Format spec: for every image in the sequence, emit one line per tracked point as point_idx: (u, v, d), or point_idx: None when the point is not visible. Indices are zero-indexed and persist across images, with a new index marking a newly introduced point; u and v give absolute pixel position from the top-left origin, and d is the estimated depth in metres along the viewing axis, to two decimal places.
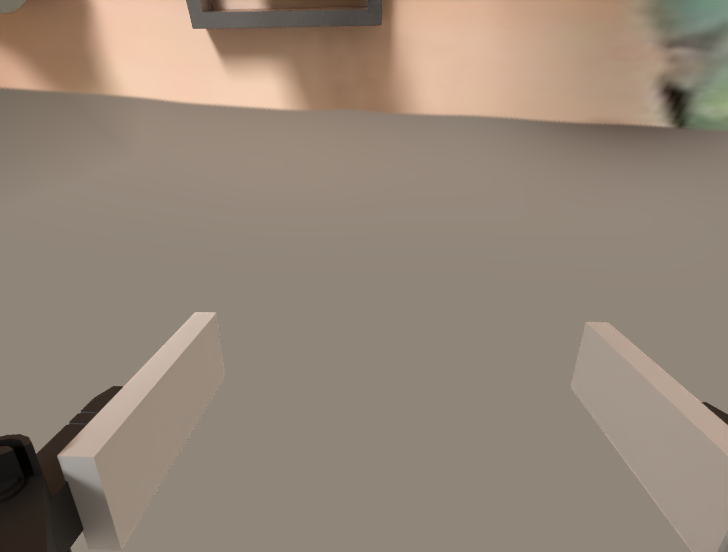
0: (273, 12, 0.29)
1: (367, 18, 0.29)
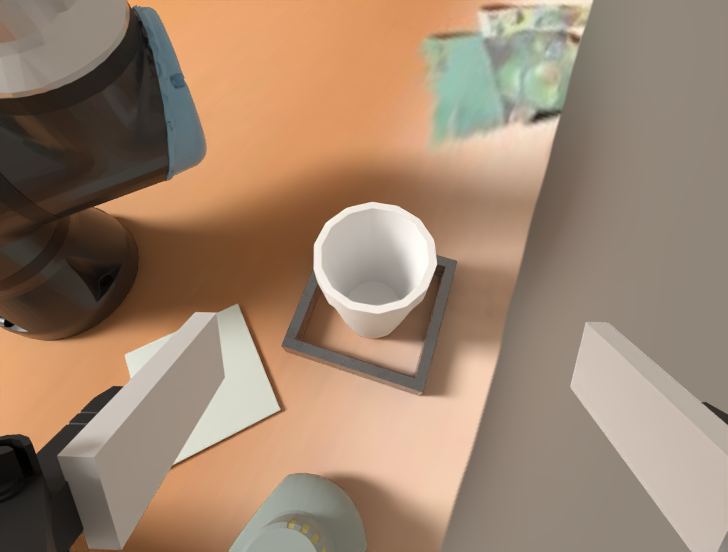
0: (430, 327, 0.39)
1: (450, 268, 0.41)
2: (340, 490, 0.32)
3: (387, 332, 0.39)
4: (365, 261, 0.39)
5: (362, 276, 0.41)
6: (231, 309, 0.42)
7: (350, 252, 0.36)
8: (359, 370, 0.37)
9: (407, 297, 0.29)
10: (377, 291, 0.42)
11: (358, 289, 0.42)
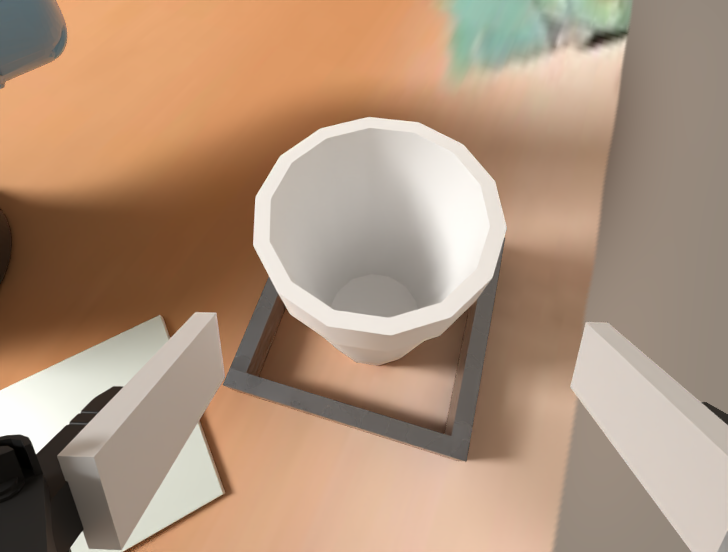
0: (470, 346, 0.23)
1: None
2: None
3: (400, 356, 0.23)
4: (359, 240, 0.23)
5: (356, 265, 0.26)
6: (150, 324, 0.26)
7: (333, 222, 0.21)
8: (355, 424, 0.22)
9: (451, 297, 0.13)
10: (380, 289, 0.27)
11: (351, 287, 0.27)
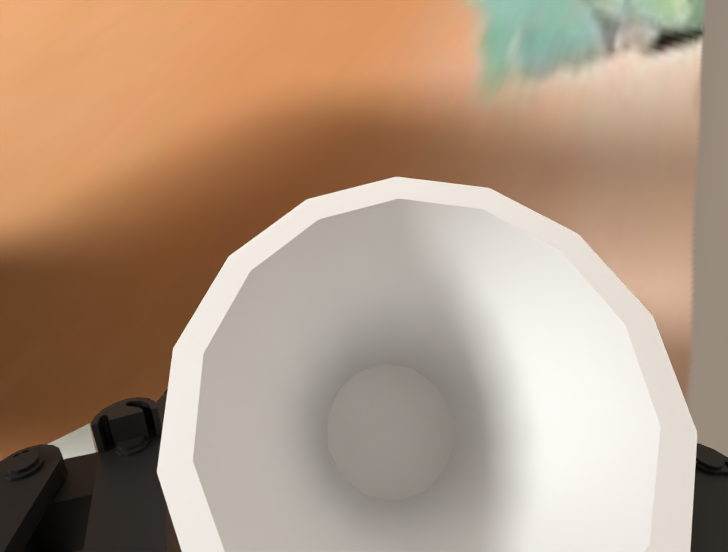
0: None
1: None
2: None
3: None
4: (371, 335, 0.16)
5: (365, 358, 0.18)
6: (74, 437, 0.19)
7: (332, 324, 0.13)
8: None
9: None
10: (398, 387, 0.19)
11: (357, 384, 0.19)
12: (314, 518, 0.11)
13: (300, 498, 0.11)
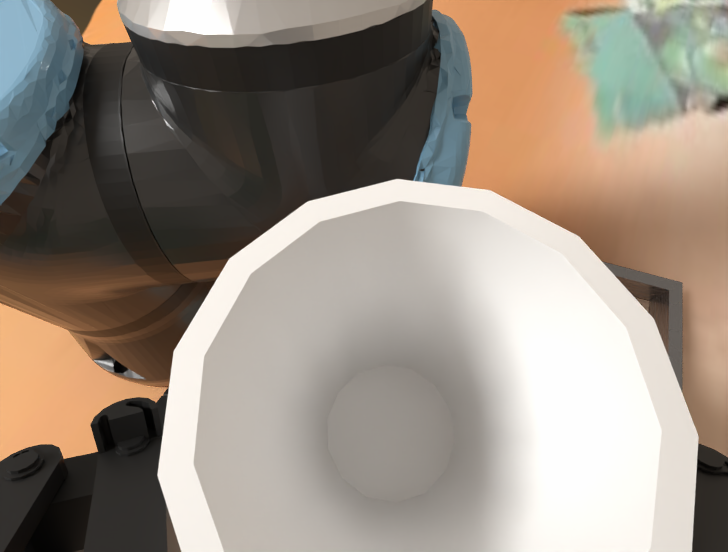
0: None
1: (676, 292, 0.32)
2: None
3: None
4: (372, 337, 0.16)
5: (365, 360, 0.18)
6: None
7: (333, 326, 0.13)
8: None
9: None
10: (398, 389, 0.19)
11: (357, 385, 0.19)
12: (315, 520, 0.11)
13: (301, 500, 0.11)
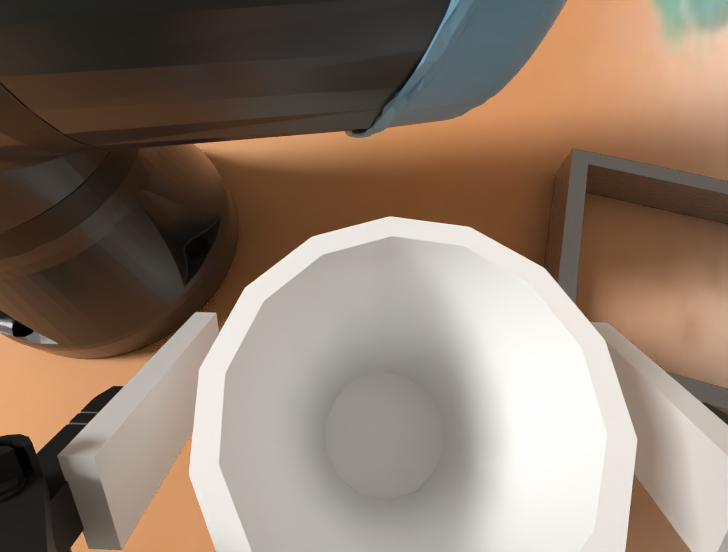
0: None
1: None
2: None
3: None
4: (367, 347, 0.17)
5: (361, 367, 0.19)
6: None
7: (332, 339, 0.15)
8: (717, 404, 0.19)
9: None
10: (392, 394, 0.21)
11: (353, 390, 0.21)
12: (317, 514, 0.12)
13: (304, 496, 0.12)
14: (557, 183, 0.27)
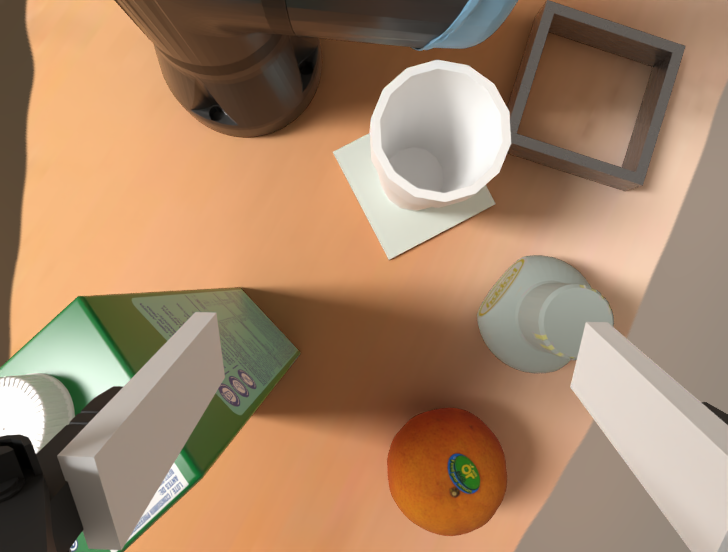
0: (652, 121, 0.38)
1: (678, 54, 0.38)
2: (574, 268, 0.37)
3: None
4: (411, 127, 0.34)
5: (404, 142, 0.37)
6: None
7: (400, 119, 0.32)
8: (582, 164, 0.38)
9: (477, 183, 0.26)
10: (418, 158, 0.39)
11: (398, 156, 0.39)
12: None
13: None
14: (533, 25, 0.40)
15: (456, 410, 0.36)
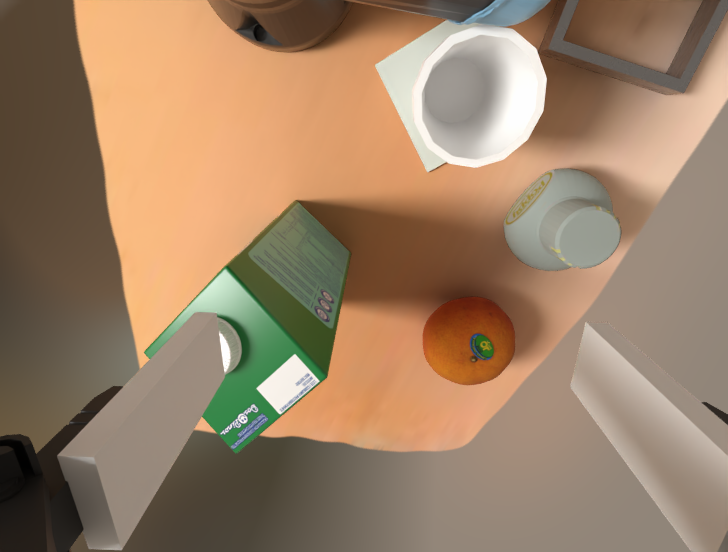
0: (712, 18, 0.36)
1: None
2: None
3: None
4: (454, 54, 0.34)
5: (447, 58, 0.37)
6: None
7: (442, 58, 0.32)
8: (625, 72, 0.38)
9: (506, 150, 0.30)
10: (460, 71, 0.39)
11: (440, 69, 0.39)
12: (435, 130, 0.34)
13: (430, 125, 0.34)
14: None
15: (479, 300, 0.45)
